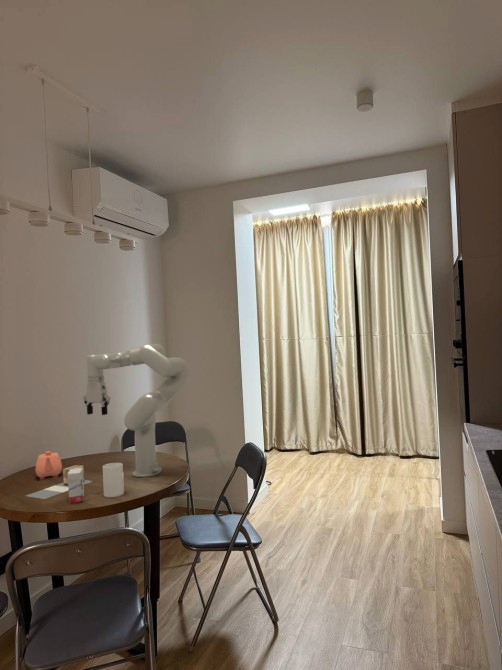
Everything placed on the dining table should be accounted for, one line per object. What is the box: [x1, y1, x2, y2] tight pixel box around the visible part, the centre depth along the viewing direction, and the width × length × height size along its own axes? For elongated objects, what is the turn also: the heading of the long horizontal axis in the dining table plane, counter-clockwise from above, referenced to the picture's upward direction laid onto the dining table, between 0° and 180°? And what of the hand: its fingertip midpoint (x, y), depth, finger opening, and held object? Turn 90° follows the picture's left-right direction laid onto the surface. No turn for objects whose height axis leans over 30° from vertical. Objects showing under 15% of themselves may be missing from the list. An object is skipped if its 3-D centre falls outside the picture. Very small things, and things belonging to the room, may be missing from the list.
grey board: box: [25, 479, 94, 500], centre depth 205 cm, size 12×26×1 cm, turn 152°
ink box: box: [68, 468, 85, 505], centre depth 191 cm, size 9×5×12 cm, turn 13°
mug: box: [102, 462, 125, 498], centre depth 198 cm, size 8×12×12 cm
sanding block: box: [62, 464, 85, 486], centre depth 211 cm, size 5×7×7 cm
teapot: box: [35, 450, 63, 481], centre depth 229 cm, size 20×12×12 cm, turn 22°
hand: (97, 414), depth 233 cm, fingers open, 9 cm apart
